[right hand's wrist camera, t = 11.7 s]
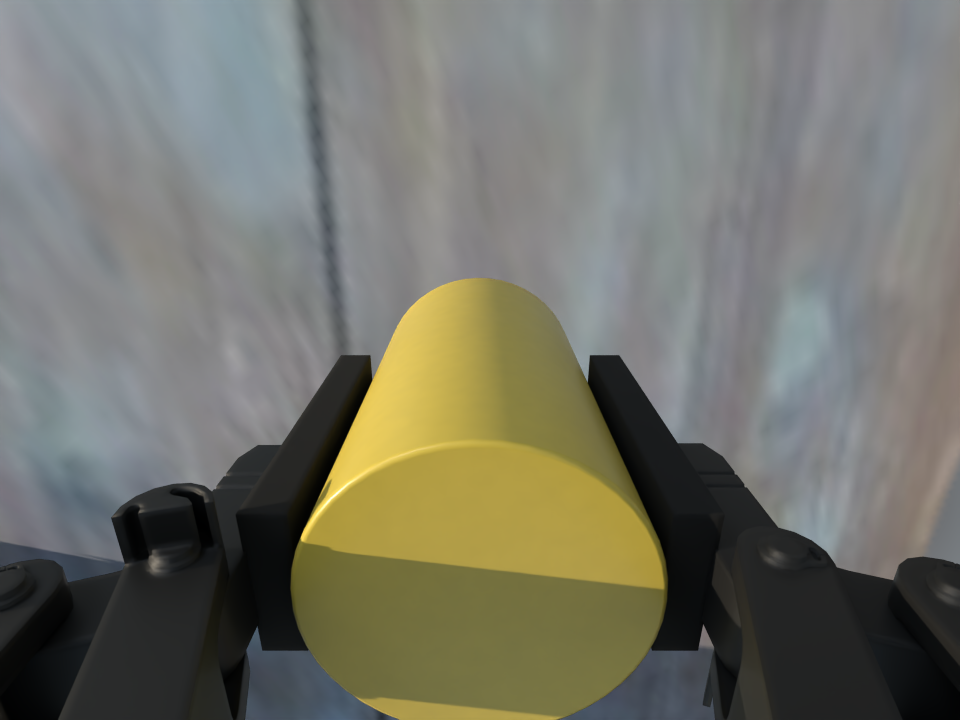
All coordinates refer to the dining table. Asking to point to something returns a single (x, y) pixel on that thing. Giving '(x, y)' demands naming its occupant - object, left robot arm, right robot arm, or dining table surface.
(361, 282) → the dining table surface
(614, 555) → the can
